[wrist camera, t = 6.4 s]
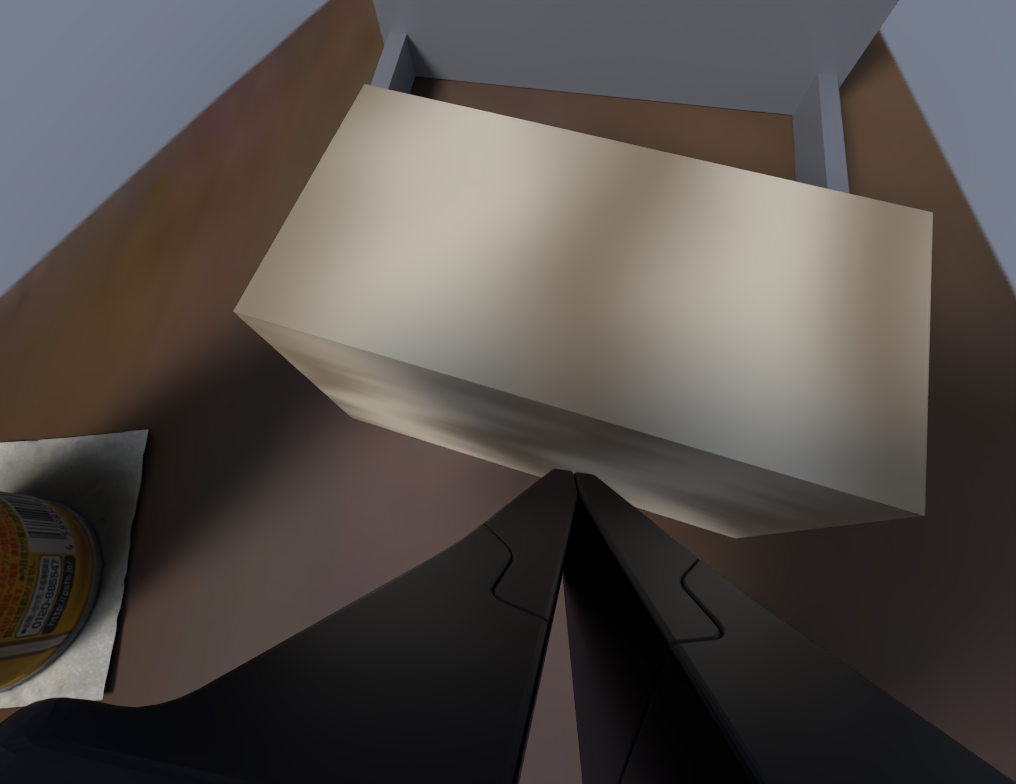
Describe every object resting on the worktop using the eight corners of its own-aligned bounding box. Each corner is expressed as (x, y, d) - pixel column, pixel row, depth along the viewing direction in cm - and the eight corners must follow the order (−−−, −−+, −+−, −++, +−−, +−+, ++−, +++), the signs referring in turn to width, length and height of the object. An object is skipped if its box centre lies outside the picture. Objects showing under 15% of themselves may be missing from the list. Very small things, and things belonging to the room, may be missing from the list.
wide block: (352, 418, 18) (233, 311, 10) (421, 265, 20) (364, 84, 12) (733, 538, 16) (924, 516, 9) (761, 357, 18) (932, 212, 11)
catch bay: (833, 305, 19) (970, 194, 13) (335, 241, 20) (265, 116, 15) (817, 105, 22) (919, -50, 17) (395, 62, 24) (358, -94, 18)
